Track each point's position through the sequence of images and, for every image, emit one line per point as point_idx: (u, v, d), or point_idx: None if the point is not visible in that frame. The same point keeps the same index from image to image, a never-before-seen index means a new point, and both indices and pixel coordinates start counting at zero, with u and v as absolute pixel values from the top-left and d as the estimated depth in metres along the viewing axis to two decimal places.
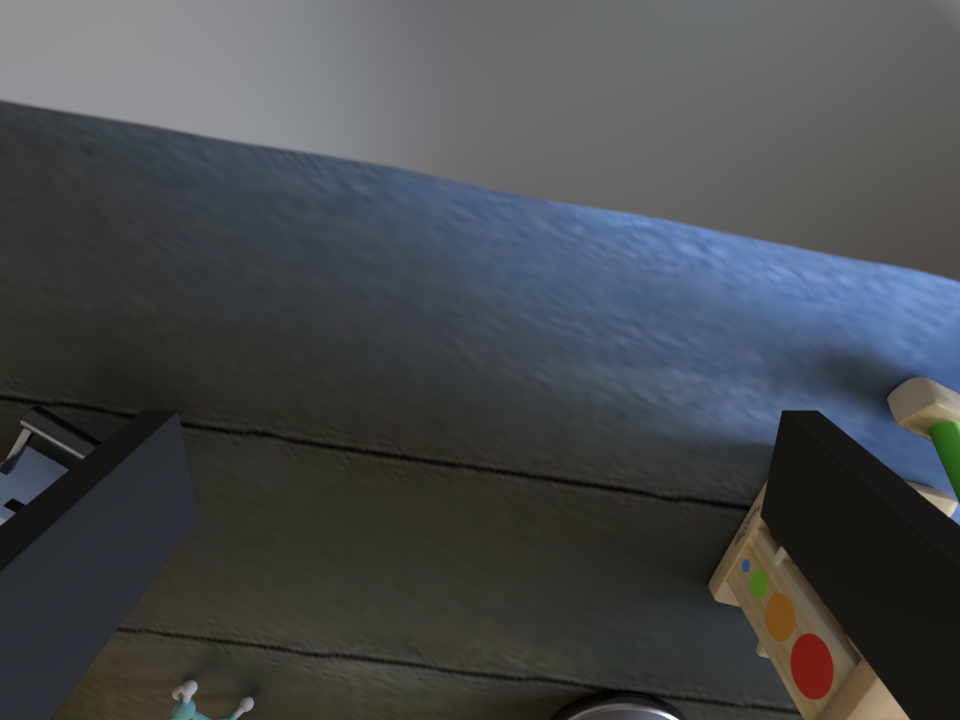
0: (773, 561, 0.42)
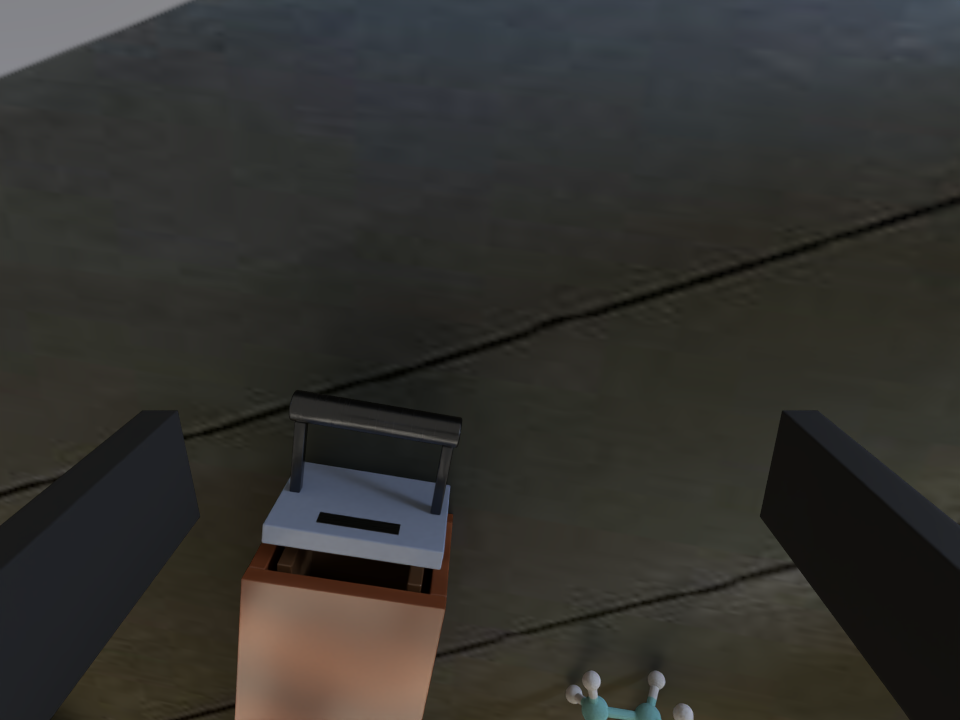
0: None
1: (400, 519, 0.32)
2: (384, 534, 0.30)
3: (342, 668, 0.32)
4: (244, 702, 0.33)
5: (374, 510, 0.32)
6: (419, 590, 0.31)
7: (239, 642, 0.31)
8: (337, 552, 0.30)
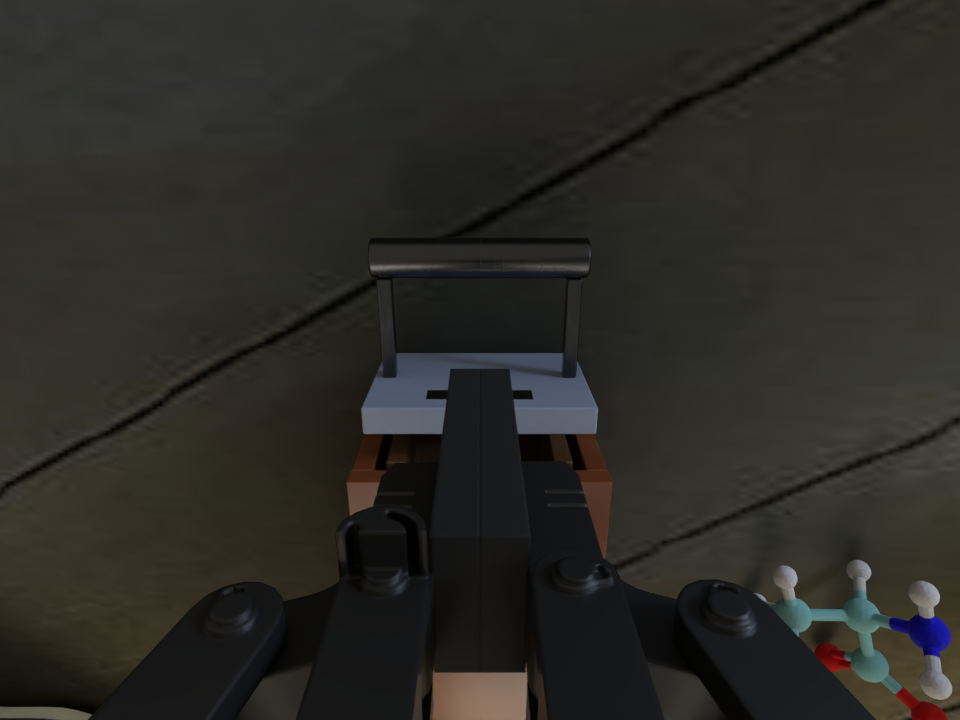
0: None
1: (529, 386, 0.25)
2: (515, 400, 0.23)
3: None
4: None
5: None
6: None
7: None
8: None
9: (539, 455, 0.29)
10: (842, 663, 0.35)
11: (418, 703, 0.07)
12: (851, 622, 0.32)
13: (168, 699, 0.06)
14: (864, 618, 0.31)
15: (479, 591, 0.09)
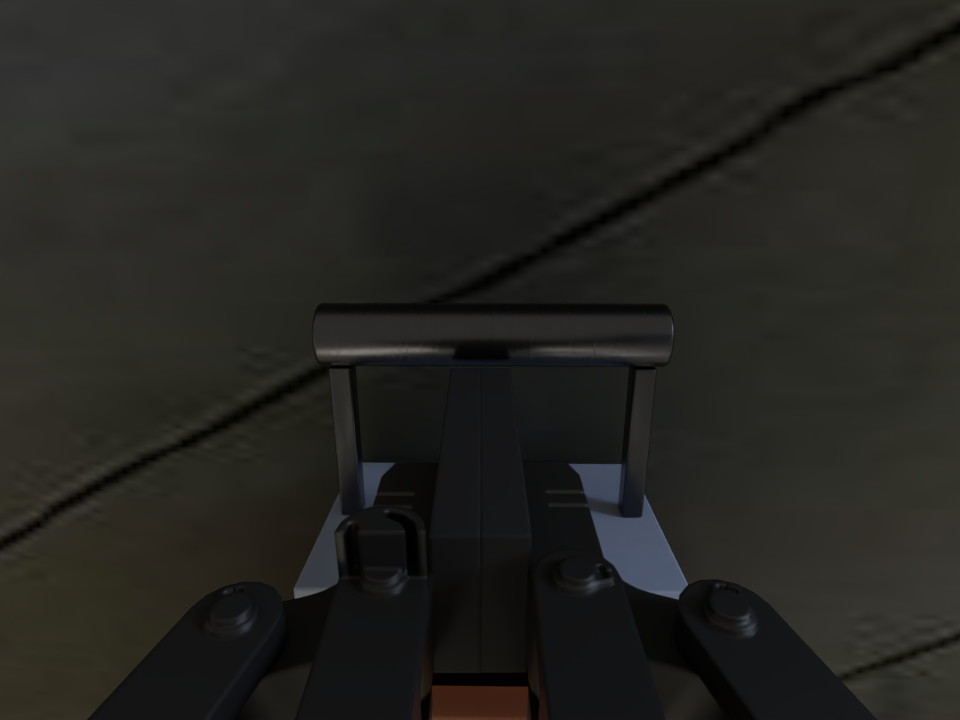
0: None
1: None
2: None
3: None
4: None
5: None
6: None
7: None
8: None
9: None
10: None
11: (417, 703, 0.07)
12: None
13: (168, 699, 0.06)
14: None
15: (480, 591, 0.09)
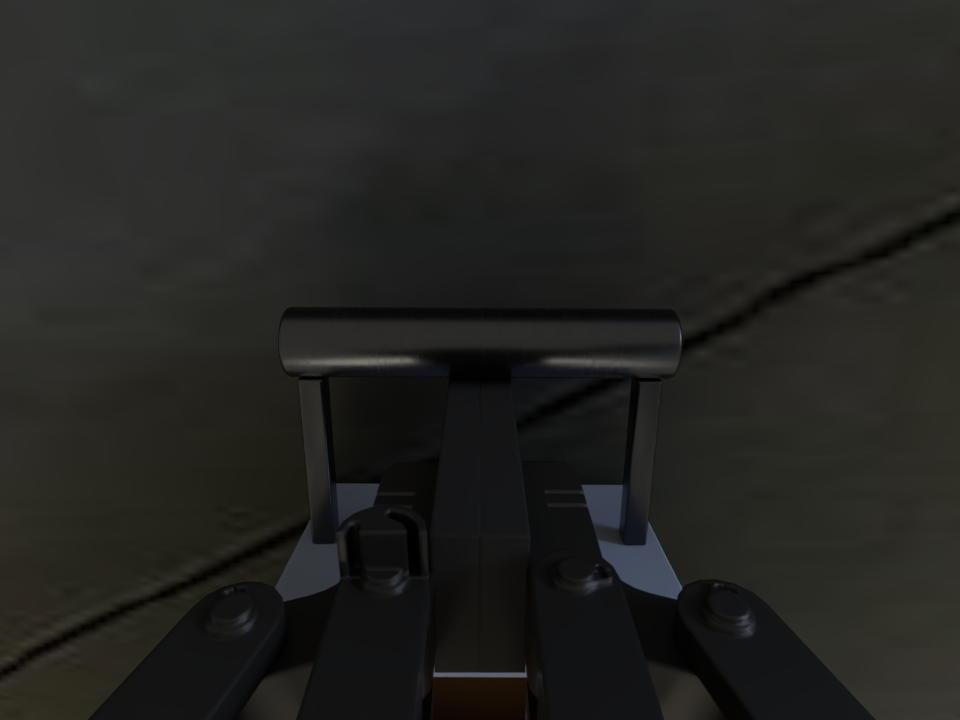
0: None
1: None
2: None
3: None
4: None
5: None
6: None
7: None
8: None
9: None
10: None
11: (418, 703, 0.07)
12: None
13: (169, 699, 0.06)
14: None
15: (479, 591, 0.09)
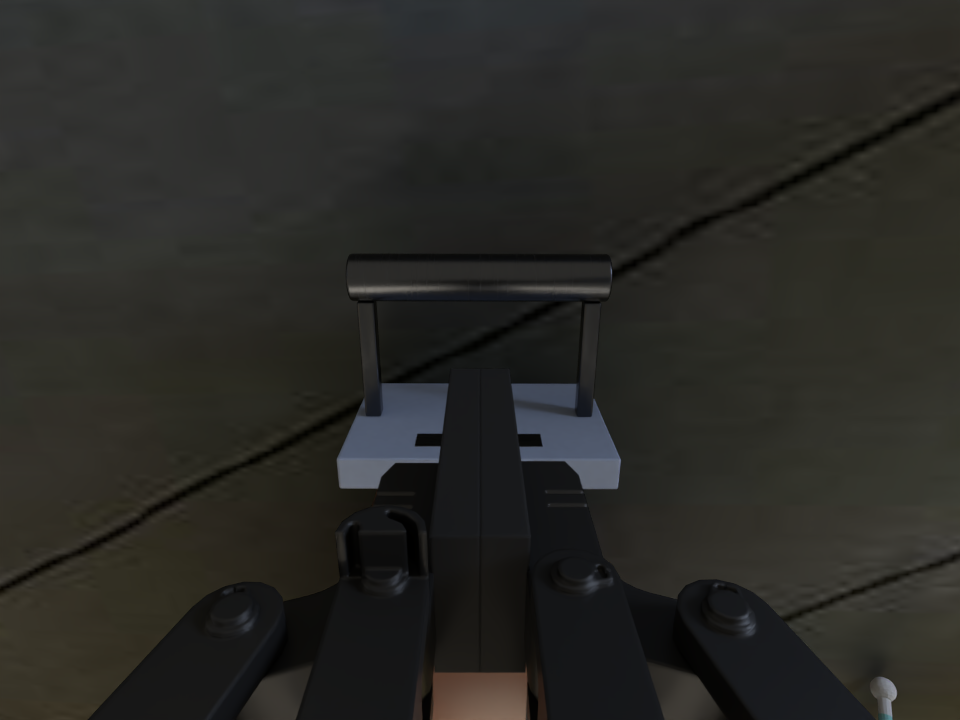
0: None
1: (537, 428, 0.21)
2: (521, 448, 0.20)
3: None
4: None
5: None
6: None
7: None
8: None
9: None
10: None
11: (418, 703, 0.07)
12: None
13: (168, 699, 0.06)
14: None
15: (479, 591, 0.09)
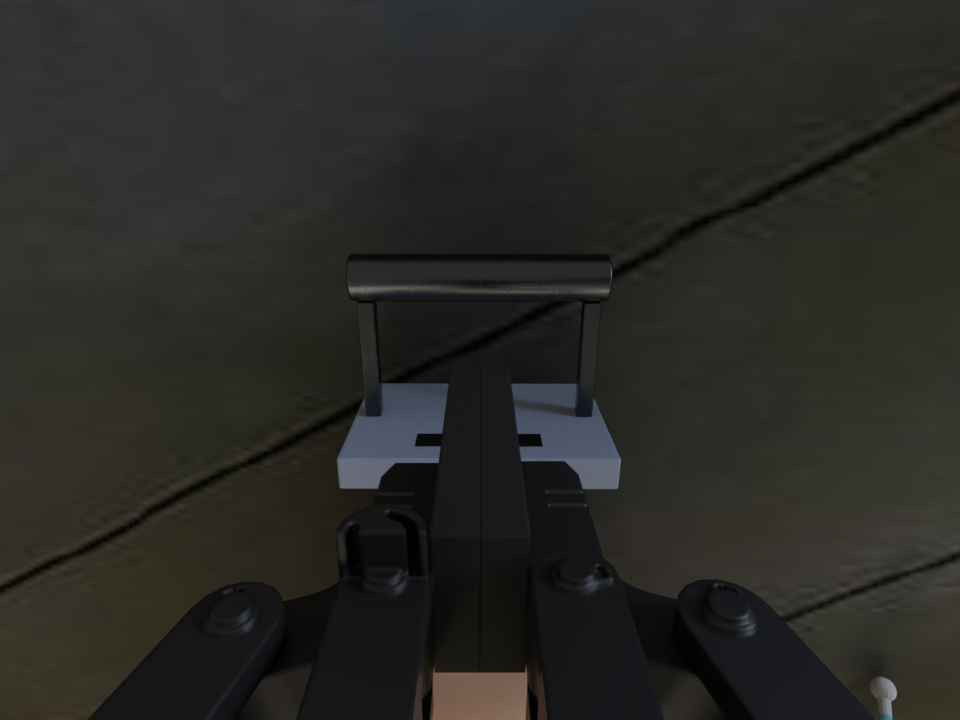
0: None
1: (537, 428, 0.21)
2: (522, 448, 0.20)
3: None
4: None
5: None
6: None
7: None
8: None
9: None
10: None
11: (418, 703, 0.07)
12: None
13: (168, 699, 0.06)
14: None
15: (479, 591, 0.09)
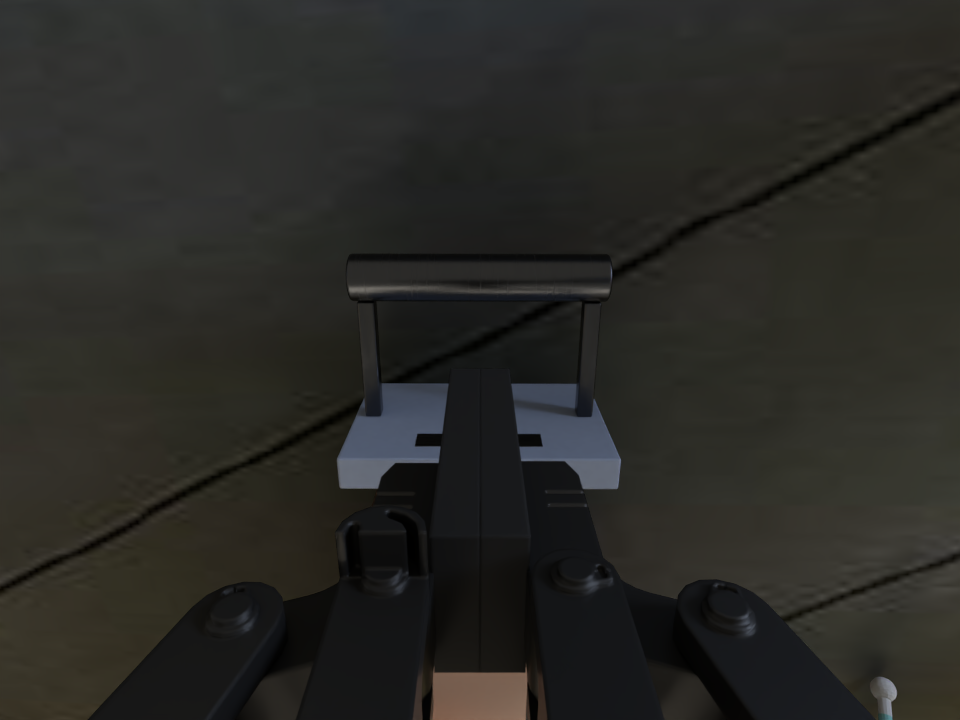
0: None
1: (537, 428, 0.21)
2: (522, 448, 0.20)
3: None
4: None
5: None
6: None
7: None
8: None
9: None
10: None
11: (418, 703, 0.07)
12: None
13: (168, 699, 0.06)
14: None
15: (479, 591, 0.09)
